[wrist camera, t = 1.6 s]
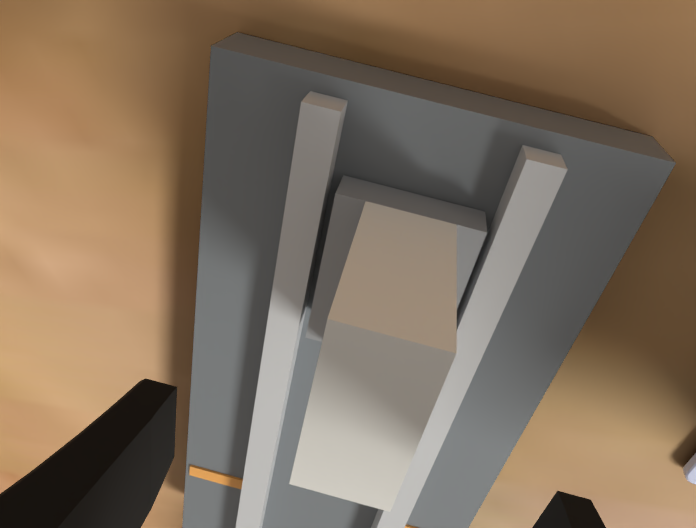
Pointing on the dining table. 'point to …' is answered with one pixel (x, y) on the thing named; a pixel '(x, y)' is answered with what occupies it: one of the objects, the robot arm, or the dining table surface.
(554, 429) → the dining table surface
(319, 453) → the fader tab
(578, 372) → the dining table surface
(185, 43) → the dining table surface
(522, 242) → the fader console
